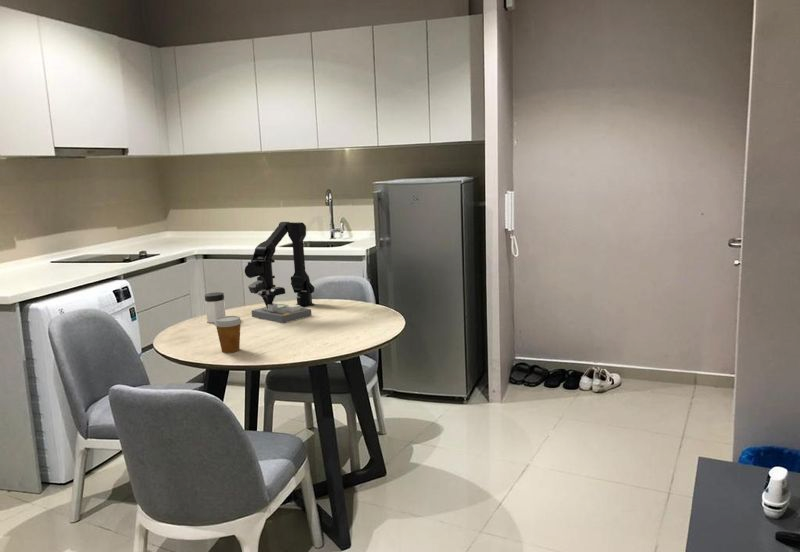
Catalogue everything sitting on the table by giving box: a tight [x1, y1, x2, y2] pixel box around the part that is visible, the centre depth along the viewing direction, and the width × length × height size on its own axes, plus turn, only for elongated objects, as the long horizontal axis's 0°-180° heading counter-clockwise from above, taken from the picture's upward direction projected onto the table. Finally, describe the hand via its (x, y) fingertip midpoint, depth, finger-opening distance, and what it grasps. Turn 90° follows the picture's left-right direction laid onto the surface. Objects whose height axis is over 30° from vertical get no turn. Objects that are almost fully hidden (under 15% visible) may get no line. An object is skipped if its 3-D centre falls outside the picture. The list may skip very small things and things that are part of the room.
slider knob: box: [268, 302, 278, 312], centre depth 287 cm, size 3×3×3 cm
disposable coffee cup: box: [214, 315, 242, 354], centre depth 239 cm, size 10×10×12 cm
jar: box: [204, 291, 227, 324], centre depth 288 cm, size 9×8×12 cm
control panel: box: [251, 303, 312, 324], centre depth 291 cm, size 16×22×3 cm
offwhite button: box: [286, 304, 302, 312], centre depth 290 cm, size 4×4×2 cm
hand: (268, 308), depth 290 cm, fingers closed
